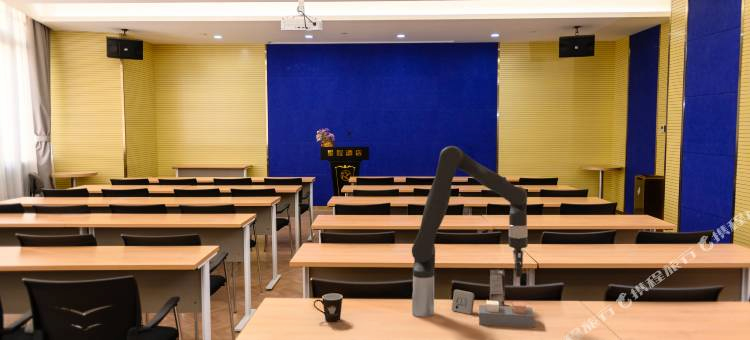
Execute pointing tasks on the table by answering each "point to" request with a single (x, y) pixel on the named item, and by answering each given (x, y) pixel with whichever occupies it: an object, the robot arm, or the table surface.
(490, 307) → the key white
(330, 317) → the coffee mug
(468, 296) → the electrical switch
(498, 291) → the coffee box
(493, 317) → the grey long rectangular block
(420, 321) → the table surface
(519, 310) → the key terracotta
